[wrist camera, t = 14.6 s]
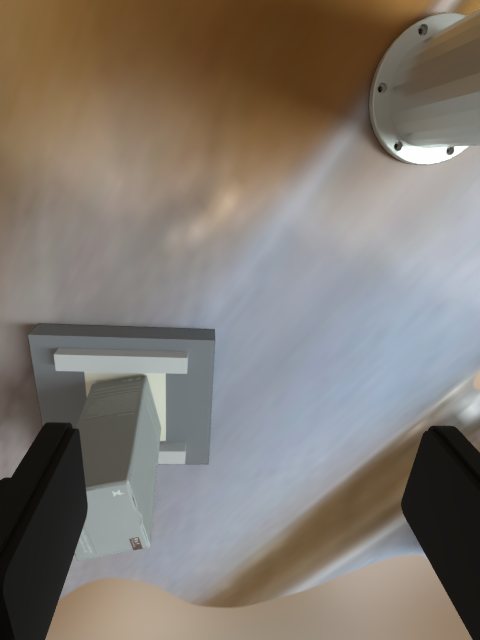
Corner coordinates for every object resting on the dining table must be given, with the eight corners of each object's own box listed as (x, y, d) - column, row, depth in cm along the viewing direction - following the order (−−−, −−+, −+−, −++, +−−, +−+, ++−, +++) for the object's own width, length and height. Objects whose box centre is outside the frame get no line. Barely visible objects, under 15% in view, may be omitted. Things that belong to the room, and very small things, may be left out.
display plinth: (214, 329, 45) (215, 346, 41) (208, 448, 52) (208, 473, 48) (39, 323, 43) (21, 340, 39) (57, 447, 50) (43, 473, 46)
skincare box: (92, 380, 43) (33, 494, 28) (155, 371, 43) (128, 479, 28) (111, 439, 46) (66, 567, 32) (169, 430, 46) (151, 554, 32)
